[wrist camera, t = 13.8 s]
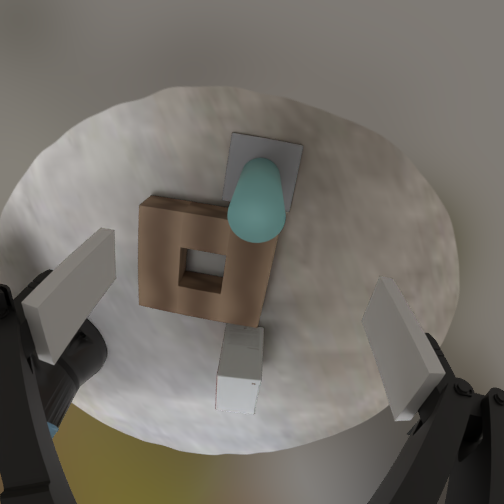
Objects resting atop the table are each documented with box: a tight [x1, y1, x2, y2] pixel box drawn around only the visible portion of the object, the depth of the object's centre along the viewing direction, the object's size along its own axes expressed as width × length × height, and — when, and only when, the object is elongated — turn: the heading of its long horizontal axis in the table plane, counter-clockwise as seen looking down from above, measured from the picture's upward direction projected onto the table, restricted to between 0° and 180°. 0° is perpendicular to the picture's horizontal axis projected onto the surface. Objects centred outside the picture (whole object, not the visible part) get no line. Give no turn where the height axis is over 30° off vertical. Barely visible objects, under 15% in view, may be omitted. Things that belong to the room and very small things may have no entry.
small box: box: [215, 323, 264, 415], centre depth 43 cm, size 8×6×10 cm
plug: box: [227, 158, 286, 243], centre depth 30 cm, size 4×4×13 cm
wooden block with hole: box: [138, 195, 279, 328], centre depth 40 cm, size 16×14×4 cm
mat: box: [222, 133, 303, 212], centre depth 36 cm, size 8×8×1 cm
